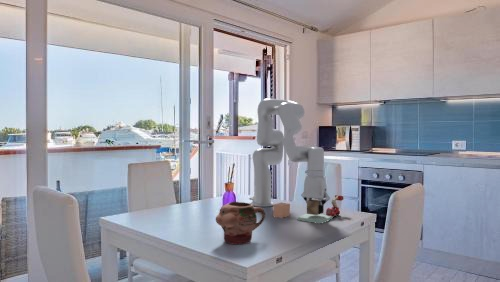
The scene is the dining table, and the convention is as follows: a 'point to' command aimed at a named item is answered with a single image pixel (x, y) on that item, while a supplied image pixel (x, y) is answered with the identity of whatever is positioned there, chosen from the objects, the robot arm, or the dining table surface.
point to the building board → (314, 218)
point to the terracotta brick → (281, 210)
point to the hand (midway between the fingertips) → (315, 212)
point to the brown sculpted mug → (239, 221)
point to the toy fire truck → (334, 207)
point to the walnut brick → (313, 207)
